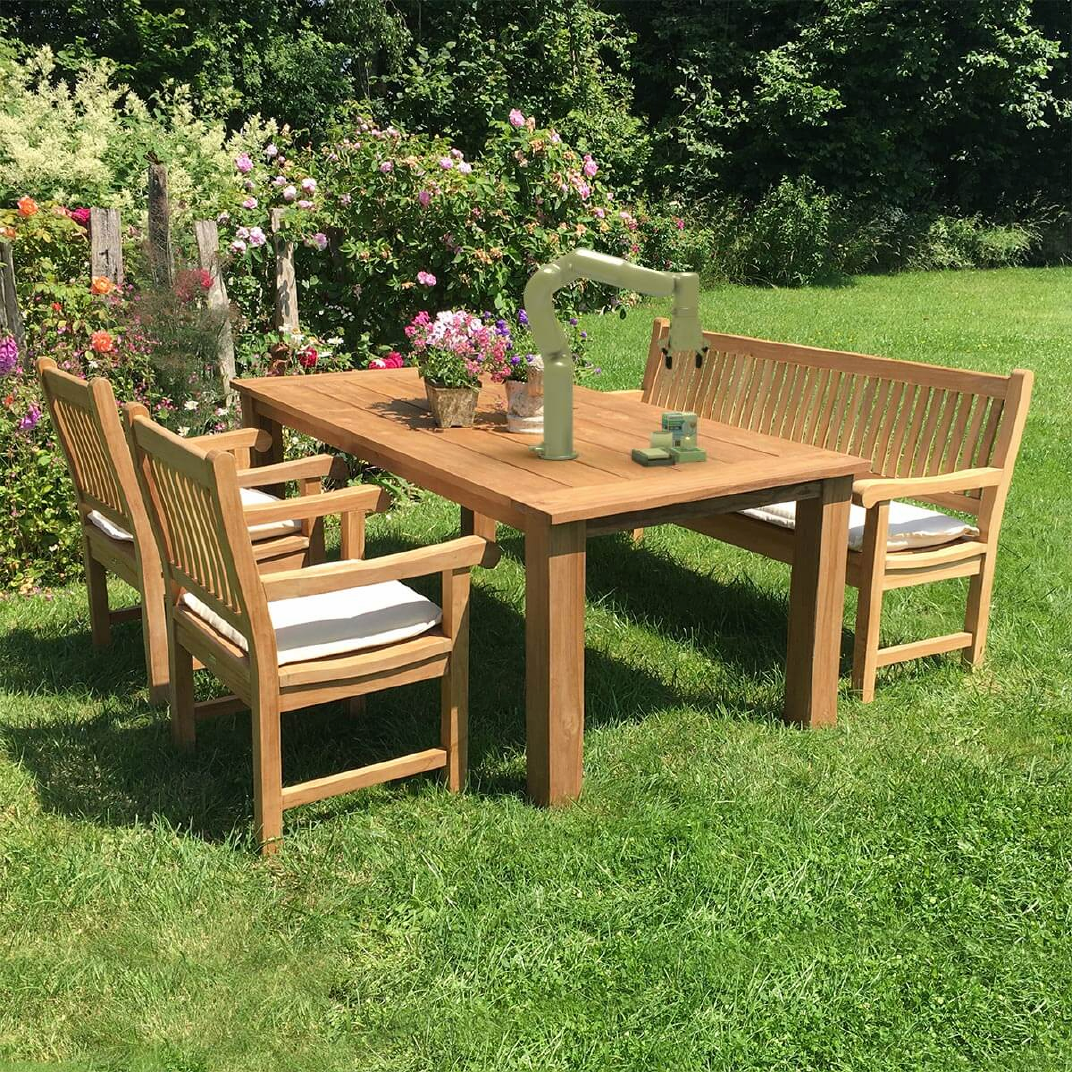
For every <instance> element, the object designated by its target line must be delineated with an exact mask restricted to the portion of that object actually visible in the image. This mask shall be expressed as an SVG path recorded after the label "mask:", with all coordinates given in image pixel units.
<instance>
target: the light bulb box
mask: <svg viewBox="0 0 1072 1072" xmlns="http://www.w3.org/2000/svg"><path fill="white" fill-rule="evenodd" d="M698 417H699V416H698V414H697V413H694V411H675V412H674V411H672V412H662V413H661V431H670V432H672V433H673V434H672V448H673V447H680V443H681V436H685V435H690V436H694V437H695V443H694V446H696V447H697V439H698V420H699V419H698Z"/></svg>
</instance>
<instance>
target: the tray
mask: <svg viewBox="0 0 1072 1072" xmlns="http://www.w3.org/2000/svg"><path fill="white" fill-rule="evenodd" d="M669 452H670V453H672V454H674V455H675V462H677V463H679V464H683V462H686V463H698V462H697V461H701V462H706V461H707V450H704V449H702V448H700V447H698V446H697V445H696V446H694V452H682V453H681V452H680V447H672V448H669Z"/></svg>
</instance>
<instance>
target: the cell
mask: <svg viewBox="0 0 1072 1072" xmlns="http://www.w3.org/2000/svg"><path fill="white" fill-rule="evenodd" d="M694 443H695V437H694V436H690V435H685V436H681V443H680V452H681V453H682V452H694Z"/></svg>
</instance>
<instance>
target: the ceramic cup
mask: <svg viewBox="0 0 1072 1072" xmlns="http://www.w3.org/2000/svg"><path fill="white" fill-rule="evenodd" d="M672 434H673V433H672V432H670V431H662V430H654V431H653V430H652V431H650V446H649V447H650V448H658V447H664V448H665V450H667V451H669V448H673V447H672ZM650 448H649V449H650Z"/></svg>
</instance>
